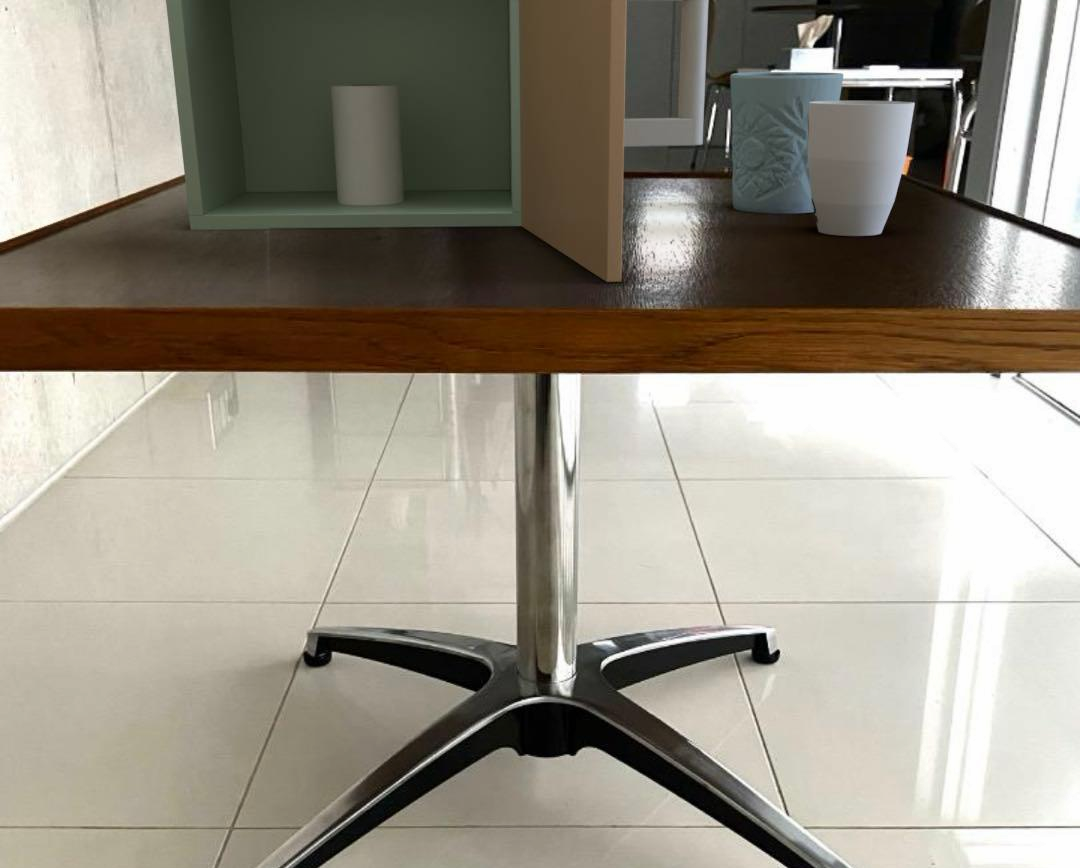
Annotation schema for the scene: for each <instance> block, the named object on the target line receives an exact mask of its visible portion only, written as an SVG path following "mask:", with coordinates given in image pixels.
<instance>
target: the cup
mask: <svg viewBox="0 0 1080 868" xmlns="http://www.w3.org/2000/svg"><path fill="white" fill-rule="evenodd" d="M915 104H916V103H915V102H914V101H913V102H912V101H899V100H896V101H895V100H839V101H814V102H809V120H808V164H809V176H810V188H811V200H812V204H813V209H814V212H813V214H814V219H815V222H816V226H817V231H818V233H821V234H824V235H832V236H841V237H843V236H844V237H865V236H866V237H868V236H869V237H870V236H877V235H881V234H882V233H883V230H884V227H885V225H886V223H887V221H888V218H889V216H890V213H891V210H892V208H893V206H894V204H895V201H896V197H897V192H898V188H899V185H900V182H901V178H902V173H903V171H904V167H905V164H906V163H905V162H906V159H907V153H908V147H909V140H910V135H911V128H912V122H913V117H914V110H915Z"/></svg>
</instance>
